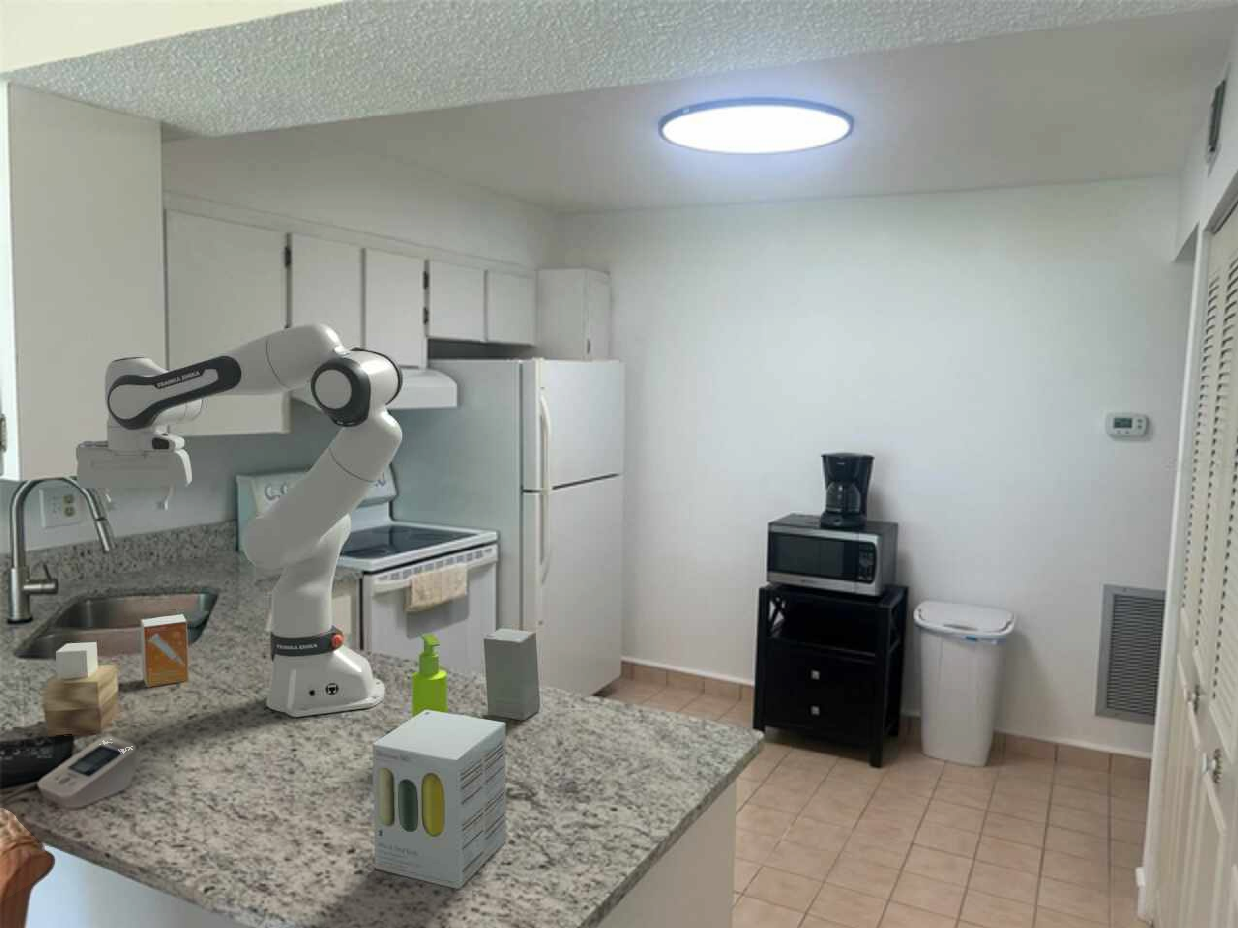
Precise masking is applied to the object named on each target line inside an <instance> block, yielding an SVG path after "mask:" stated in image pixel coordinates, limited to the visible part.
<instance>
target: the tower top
mask: <svg viewBox="0 0 1238 928" xmlns="http://www.w3.org/2000/svg"><path fill="white" fill-rule="evenodd" d="M117 666H118V665H117V664H103V665H102V664H101V665H98V669H97V670H95V671H94V672H93V673H92V674H91V675H90V676H89V677H86V678H68V679H57V672H56V673H55V674H54V675H52V676H51V677H49V678H48V679H47V680H46V681H44V683H42V684H41V687H42V700H43V712H45V711H62V710H80V709H99V708H100V707H101V706H102V705H103V704H104V703H105V702H107V701H108V700H109V699H110V698H111V697H112V696H113V695H114V694H115V693H116V692H118V691H119V684H118V682H119V680H118V667H117Z"/></svg>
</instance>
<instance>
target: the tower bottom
mask: <svg viewBox="0 0 1238 928" xmlns="http://www.w3.org/2000/svg"><path fill="white" fill-rule="evenodd" d="M118 696H119V695H118V691H117V692H116V693H115V694H114V695H113V696H112V697H111V698H110V699H109V700H108V701H107V702H105V703H104V704H103V705H102V706H101V707H100V708H99V709H80V710H62V711H44V721H45V737H46V736H49V737H56V736H55V735H60V734H72V735H71V736H74V735H75V736H76V735H91V734H92V735H93V734H102V733H103V732H104V731H105V730H106V729H107V727H108V726H109V725H110V724H111V723H112V722H113V721H114V720H115V718H116V717H118V715H119V713H120V711H119V697H118Z"/></svg>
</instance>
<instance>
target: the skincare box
mask: <svg viewBox="0 0 1238 928" xmlns="http://www.w3.org/2000/svg"><path fill="white" fill-rule="evenodd" d="M483 650H484V651H483V652H484V663H485V664H484V666H485V667H484V668H485V669H484V670H485V682H486V699H487V714H488V716H493V717H499V718H506V719H513V720H518V721H526V720H527V719H529V717H531V716H532V715H534V714H535V713H537V712H539V711H540V708H541V700H540V698H541V697H540V696H541V695H540V685H539V684H540V683H539V682H540V681H539V666H538V665H539V663H538V652H537V650H538V649H537V632H536V631H527V630H517V629H510V628H502V627H501V628H499V629H497V630H496V631H494V632H492V633H489V634H488V635H486V636H485V637H484V638H483Z"/></svg>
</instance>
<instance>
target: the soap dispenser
mask: <svg viewBox="0 0 1238 928" xmlns="http://www.w3.org/2000/svg"><path fill="white" fill-rule="evenodd" d="M420 638H421V640H423V651H422V652H421V653H419V655H418V670H416V671H415V672H413V673H412V674H411V698H412V699H411V704H412V706H411V708H412V709H411V710H412V718H413V717H415V716H416V715H418V714H420V713H421V712H423V711H424V710H431V711H437V712H443V713H448V691H447V690H448V685H447V684H448V683H447V675H448V674H447V672H446V670H443V669H440V655H439V652H437V651H435V648H434V647H437V646H441V642H440V640H439V639H438V637H437V636H436V635H435V634H433V633H426V634H421V635H420Z"/></svg>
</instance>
